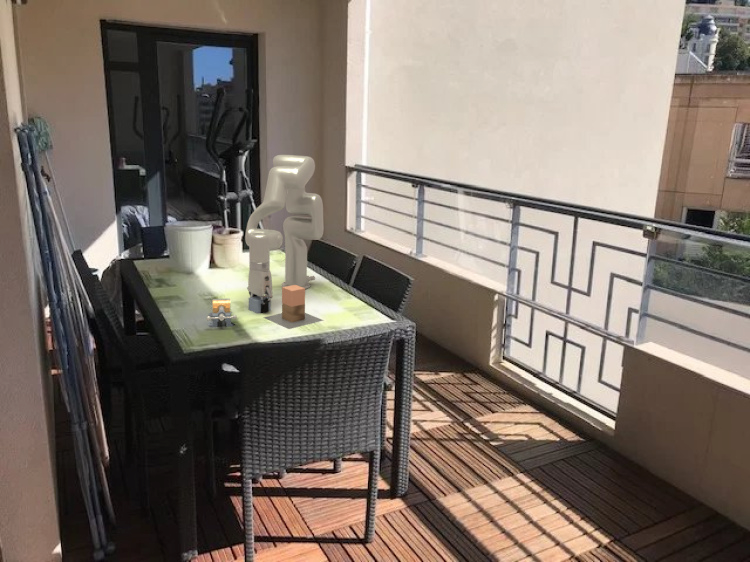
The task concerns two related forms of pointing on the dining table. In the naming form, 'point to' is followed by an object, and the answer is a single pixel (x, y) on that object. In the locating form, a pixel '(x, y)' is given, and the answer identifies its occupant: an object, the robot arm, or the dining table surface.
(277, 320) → the plate
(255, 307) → the slate brick
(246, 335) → the dining table surface
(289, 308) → the brown wooden cube
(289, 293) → the salmon orange cube
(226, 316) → the vise
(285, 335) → the dining table surface
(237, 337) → the dining table surface
